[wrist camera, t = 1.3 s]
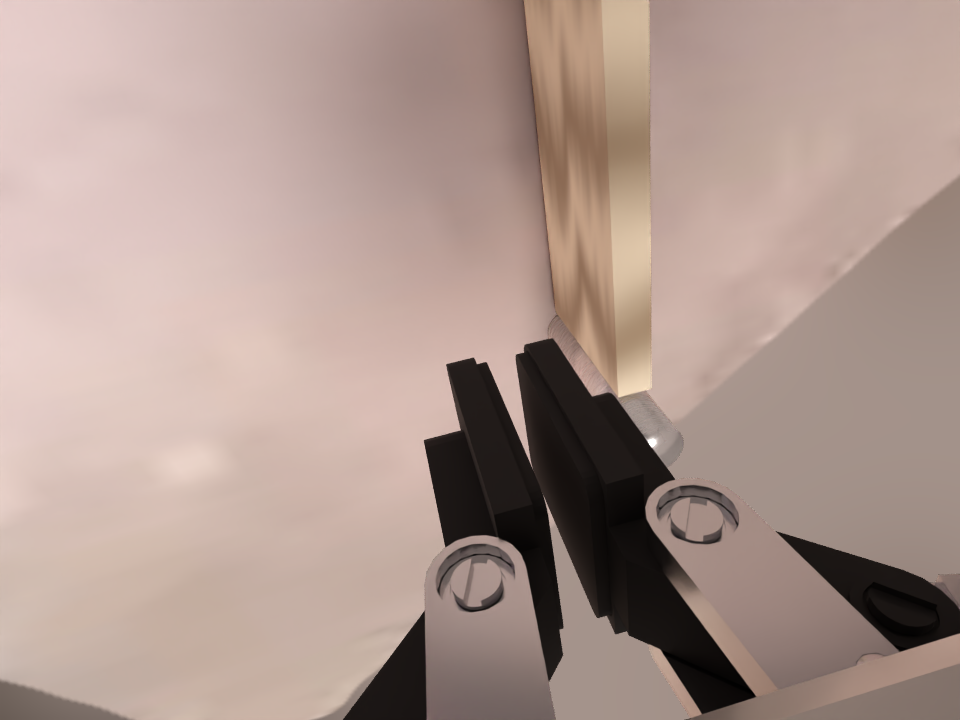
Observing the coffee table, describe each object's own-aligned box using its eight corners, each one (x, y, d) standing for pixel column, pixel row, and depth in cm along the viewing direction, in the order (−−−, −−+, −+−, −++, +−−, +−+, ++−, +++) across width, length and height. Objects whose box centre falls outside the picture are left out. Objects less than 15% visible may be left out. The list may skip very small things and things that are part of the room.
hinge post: (586, 306, 33) (684, 420, 24) (589, 342, 34) (683, 465, 25) (545, 316, 33) (628, 435, 24) (549, 352, 34) (629, 479, 25)
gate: (582, 305, 32) (652, 388, 25) (554, 312, 32) (616, 397, 25) (547, -173, 22) (649, -264, 15) (505, -166, 22) (588, -255, 15)
